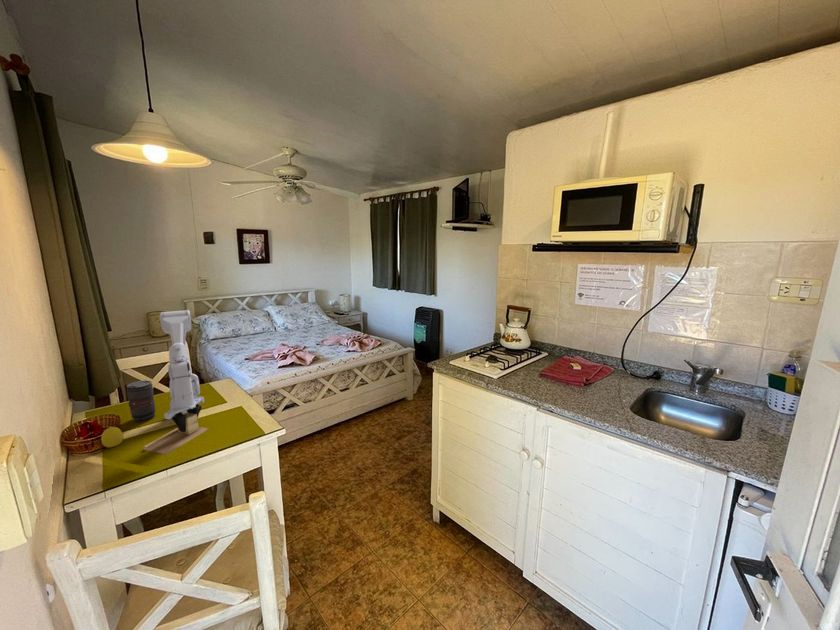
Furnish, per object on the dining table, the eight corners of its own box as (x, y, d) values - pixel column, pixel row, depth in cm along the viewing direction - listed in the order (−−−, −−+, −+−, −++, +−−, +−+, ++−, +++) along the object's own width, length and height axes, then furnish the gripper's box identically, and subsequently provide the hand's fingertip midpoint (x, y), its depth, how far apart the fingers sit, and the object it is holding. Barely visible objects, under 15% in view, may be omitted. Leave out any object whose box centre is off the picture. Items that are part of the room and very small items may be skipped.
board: (144, 453, 117) (142, 446, 116) (188, 428, 133) (187, 422, 132) (167, 458, 114) (166, 450, 114) (210, 432, 130) (209, 425, 130)
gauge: (178, 432, 127) (175, 415, 126) (188, 427, 131) (185, 410, 129) (189, 434, 126) (186, 417, 124) (198, 428, 130) (196, 412, 128)
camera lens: (146, 423, 137) (140, 388, 134) (126, 423, 137) (120, 387, 134) (162, 413, 145) (156, 380, 142) (143, 413, 145) (137, 379, 142)
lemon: (107, 454, 116) (102, 432, 115) (101, 449, 119) (96, 428, 118) (127, 446, 121) (123, 425, 119) (121, 442, 124) (117, 421, 122)
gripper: (173, 403, 118) (179, 439, 120) (209, 387, 131) (213, 420, 134) (157, 401, 119) (163, 437, 122) (194, 385, 133) (198, 417, 136)
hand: (188, 428), depth 128 cm, fingers closed on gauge, 4 cm apart
